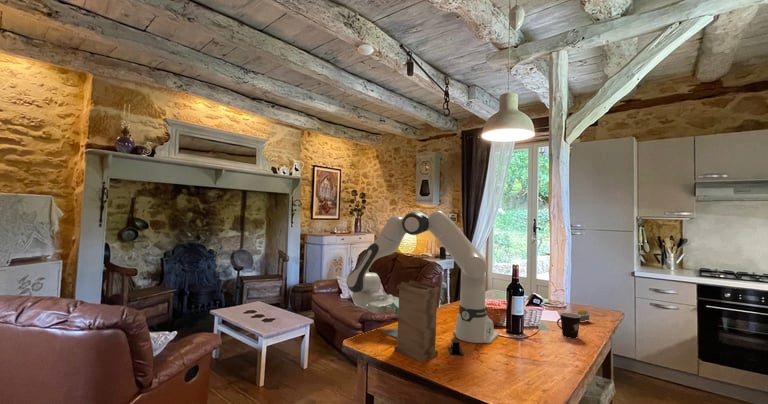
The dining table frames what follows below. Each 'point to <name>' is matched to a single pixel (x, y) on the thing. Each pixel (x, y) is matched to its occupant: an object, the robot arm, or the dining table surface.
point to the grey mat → (391, 332)
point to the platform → (583, 315)
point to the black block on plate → (455, 348)
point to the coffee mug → (569, 324)
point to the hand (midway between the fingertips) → (399, 309)
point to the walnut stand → (417, 320)
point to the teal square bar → (396, 305)
